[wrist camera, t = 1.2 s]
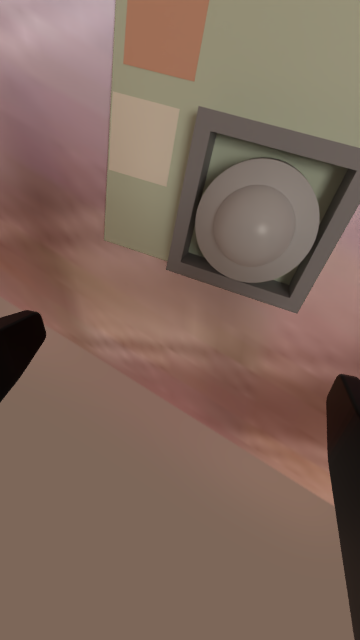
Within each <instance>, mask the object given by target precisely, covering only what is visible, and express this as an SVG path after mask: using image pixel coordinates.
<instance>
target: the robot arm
mask: <svg viewBox="0 0 360 640" xmlns="http://www.w3.org/2000/svg"><path fill="white" fill-rule="evenodd" d="M45 338H46V331H45V327H44V324H43V320H42V317H41V315H40V314H39V313H38V312H34V311H29V310H25V311H22V312H18V313H15V314H12V315H8V316H5V317H2V318H0V402H1V401H2V399H3V398H4V397H5V396H6V395H7V393H8V392H9V391H10V390H11V388H12V387H13V386H14V385H15V383H16V382H17V381H18V379H19V378H20V377H21V375H22V374H23V372H24V371H25V369H26V368H27V366H28V365H29V363H30V362H31V360H32V358H33V357H34V355H35V354H36V352H37V351H38V349H39V348H40V346H41V345H42V343H43V342H44V340H45ZM326 409H327V450H328V463H329V471H330V477H331V484H332V491H333V498H334V504H335V511H336V518H337V524H338V531H339V538H340V545H341V552H342V558H343V565H344V571H345V579H346V585H347V591H348V598H349V606H350V612H351V618H352V626H353V632H354V639H355V640H360V380H359V379H358V378H357V377H354V376H349V375H344V374H340V375H338V376H337V377H336V379H335V381H334V383H333V385H332V387H331V390H330V392H329V394H328V396H327V402H326Z"/></svg>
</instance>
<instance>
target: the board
mask: <svg viewBox="0 0 360 640" xmlns="http://www.w3.org/2000/svg"><path fill="white" fill-rule="evenodd" d="M258 157H270V158H275V159H279V160H282V161H285V162H287V163H289V164H291V165H292V166H294V167H295V168H296V169H298V170H299V171H300V172H301V173H302V174H303V175H304V176H305V178H306V179H307V181H308V182H309V184H310V185H311V187H312V189H313V191H314V193H315V195H316V198H317V202H318V206H319V228H318V233H317V236H316V239H315V241H314V244H313V246H312V248H311V249H310V251H309V253H308V254H307V255H306V257H305V258H304V259H303V260H302V261H301V262H300V263H299V264H298V265H297V266H296V267H295V268H294V269H292V270H291V271H290V272H288V273H286V274H285V275H283V276H281V277H279V278H276V279H273V280H270V281H265V282H258V283H248V282H241V281H237V280H234V279H231V278H229V277H226V276H225V275H223V274H221V273H220V272H218V271H217V270H216V269H215V268H213V267H212V266H211V265H210V263H209V262H208V261H207V260H206V258H205V257H204V255H203V254H202V252H201V250H200V248H199V245H198V242H197V237H196V231H195V219H196V213H197V209H198V205H199V202H200V200H201V198H202V196H203V194H204V192H205V191H206V189H207V188H208V186H209V185H210V184H211V183H212V181H214V180H215V179H216V178H217V177H218V176H219V175H220V174H221V173H223V172H224V171H225V170H227V169H228V168H230V167H231V166H233V165H235V164H237V163H239V162H241V161H244V160H247V159H251V158H258ZM359 204H360V0H116V7H115V27H114V47H113V67H112V87H111V108H110V128H109V148H108V168H107V188H106V208H105V228H104V240H105V241H108V242H111V243H114V244H117V245H120V246H123V247H126V248H129V249H132V250H135V251H138V252H141V253H144V254H147V255H150V256H153V257H156V258H159V259H162V260H165V261H168V262H167V267H166V270H169V271H172V272H175V273H178V274H181V275H184V276H187V277H189V278H192V279H195V280H198V281H201V282H204V283H207V284H210V285H213V286H216V287H219V288H222V289H225V290H228V291H231V292H234V293H237V294H240V295H243V296H246V297H249V298H252V299H255V300H258V301H261V302H264V303H267V304H270V305H273V306H276V307H279V308H282V309H285V310H288V311H291V312H294V313H298V311H299V309H300V308H301V306H302V304H303V302H304V301H305V299H306V297H307V295H308V294H309V292H310V290H311V288H312V286H313V285H314V283H315V281H316V279H317V278H318V276H319V274H320V272H321V271H322V269H323V267H324V265H325V264H326V262H327V260H328V258H329V257H330V255H331V253H332V251H333V249H334V248H335V246H336V244H337V242H338V241H339V239H340V237H341V235H342V234H343V232H344V230H345V228H346V227H347V225H348V223H349V221H350V219H351V218H352V216H353V214H354V212H355V211H356V209H357V207H358V205H359Z"/></svg>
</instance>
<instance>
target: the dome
mask: <svg viewBox="0 0 360 640" xmlns="http://www.w3.org/2000/svg"><path fill="white" fill-rule="evenodd" d="M318 228H319V206H318V202H317V198H316V195H315V193H314V191H313V189H312V187H311V185H310V184H309V182H308V181H307V179H306V178H305V176H304V175H303V174H302V173H301V172H300V171H299V170H298V169H296V168H295V167H294V166H292V165H291V164H289V163H287V162H285V161H282V160H279V159H275V158H270V157H258V158H251V159H247V160H244V161H241V162H239V163H237V164H235V165H233V166H231V167H230V168H228V169H227V170H225V171H224V172H223V173H221V174H220V175H219V176H218V177H217V178H216V179H215V180H214V181H212V183H211V184H210V185H209V186H208V188H207V189H206V191H205V192H204V194H203V196H202V198H201V200H200V202H199V205H198V209H197V213H196V219H195V231H196V237H197V242H198V245H199V248H200V250H201V252H202V254H203V255H204V257H205V258H206V260H207V261H208V262H209V263H210V265H211V266H212V267H213V268H215V269H216V270H217V271H218V272H220V273H221V274H223V275H225V276H226V277H229V278H231V279H234V280H237V281H241V282H248V283H258V282H265V281H270V280H273V279H276V278H279V277H281V276H283V275H285V274H286V273H288V272H290V271H291V270H292V269H294V268H295V267H296V266H297V265H298V264H299V263H300V262H301V261H302V260H303V259H304V258H305V257H306V255H307V254H308V253H309V251H310V249H311V248H312V246H313V244H314V241H315V239H316V236H317V233H318Z"/></svg>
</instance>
